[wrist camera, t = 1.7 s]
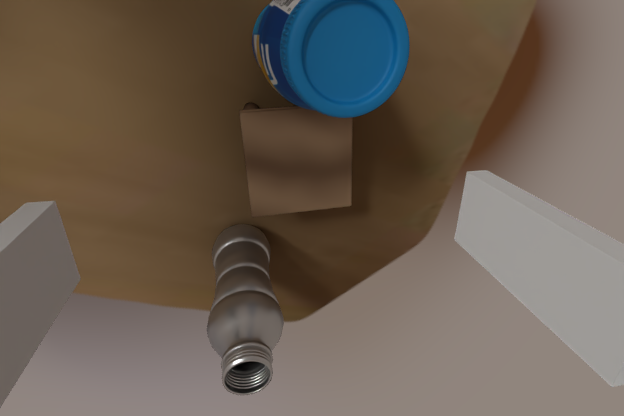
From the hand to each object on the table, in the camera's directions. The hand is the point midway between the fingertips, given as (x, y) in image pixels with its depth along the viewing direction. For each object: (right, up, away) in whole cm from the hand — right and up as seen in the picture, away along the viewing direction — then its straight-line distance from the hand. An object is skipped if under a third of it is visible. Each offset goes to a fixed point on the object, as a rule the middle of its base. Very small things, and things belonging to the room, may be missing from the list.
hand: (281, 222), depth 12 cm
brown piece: (-1, +8, +29) cm, 30 cm away
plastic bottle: (-8, -3, +33) cm, 34 cm away
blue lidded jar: (-1, +17, +25) cm, 30 cm away
